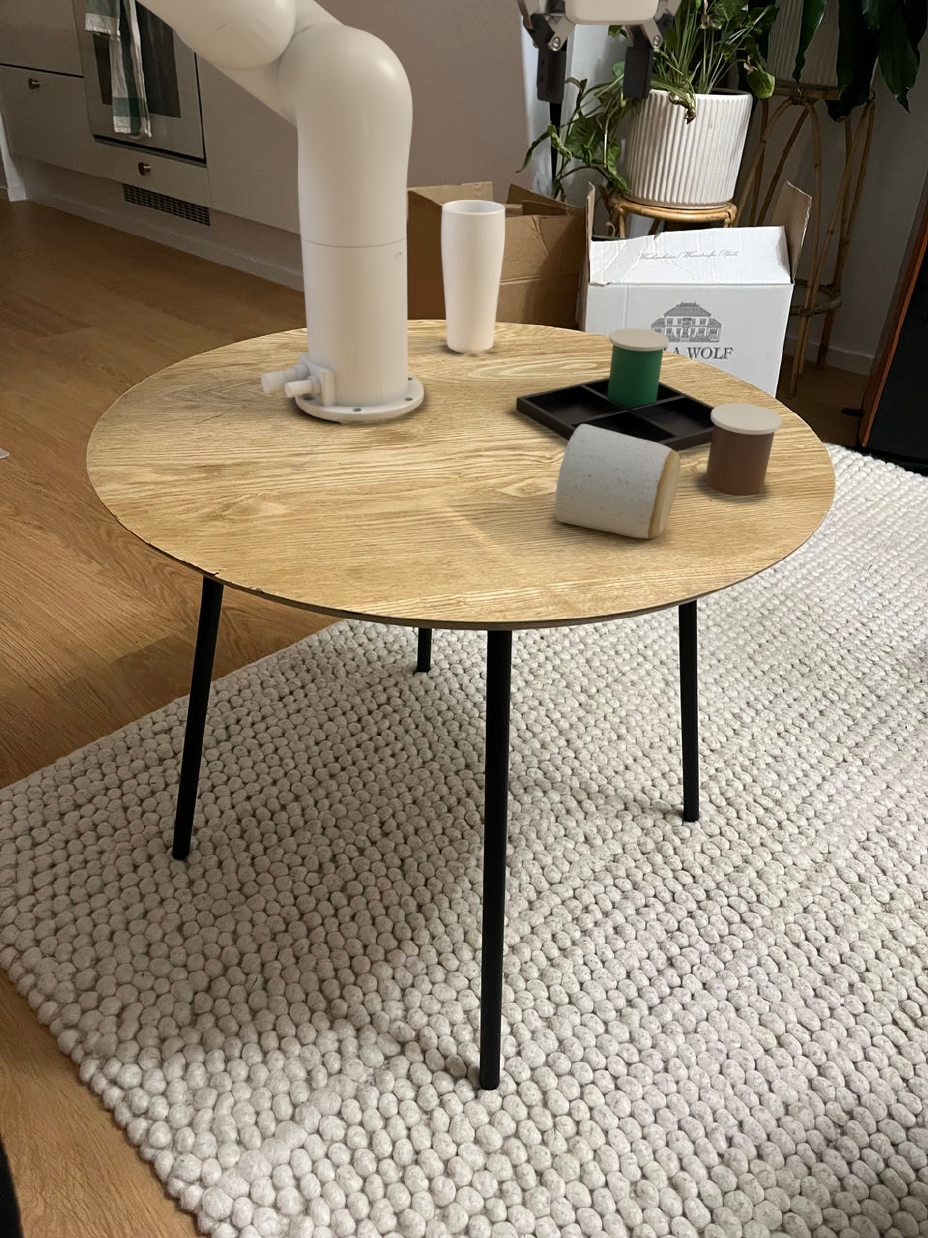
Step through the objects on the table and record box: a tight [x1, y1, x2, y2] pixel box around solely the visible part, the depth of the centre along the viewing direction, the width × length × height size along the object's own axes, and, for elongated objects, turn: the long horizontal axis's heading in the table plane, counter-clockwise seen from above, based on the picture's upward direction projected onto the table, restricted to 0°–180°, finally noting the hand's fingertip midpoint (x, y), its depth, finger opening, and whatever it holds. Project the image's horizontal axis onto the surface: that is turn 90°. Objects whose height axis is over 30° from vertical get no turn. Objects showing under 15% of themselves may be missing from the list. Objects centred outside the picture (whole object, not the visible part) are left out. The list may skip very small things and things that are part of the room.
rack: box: [515, 376, 715, 453], centre depth 94 cm, size 15×15×2 cm
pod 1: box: [607, 327, 670, 408], centre depth 97 cm, size 6×6×6 cm
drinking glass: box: [440, 199, 506, 354], centre depth 108 cm, size 7×7×15 cm
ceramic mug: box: [554, 424, 682, 540], centre depth 77 cm, size 11×8×8 cm
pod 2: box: [704, 402, 783, 497], centre depth 82 cm, size 6×6×6 cm
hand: (593, 99), depth 90 cm, fingers open, 9 cm apart
